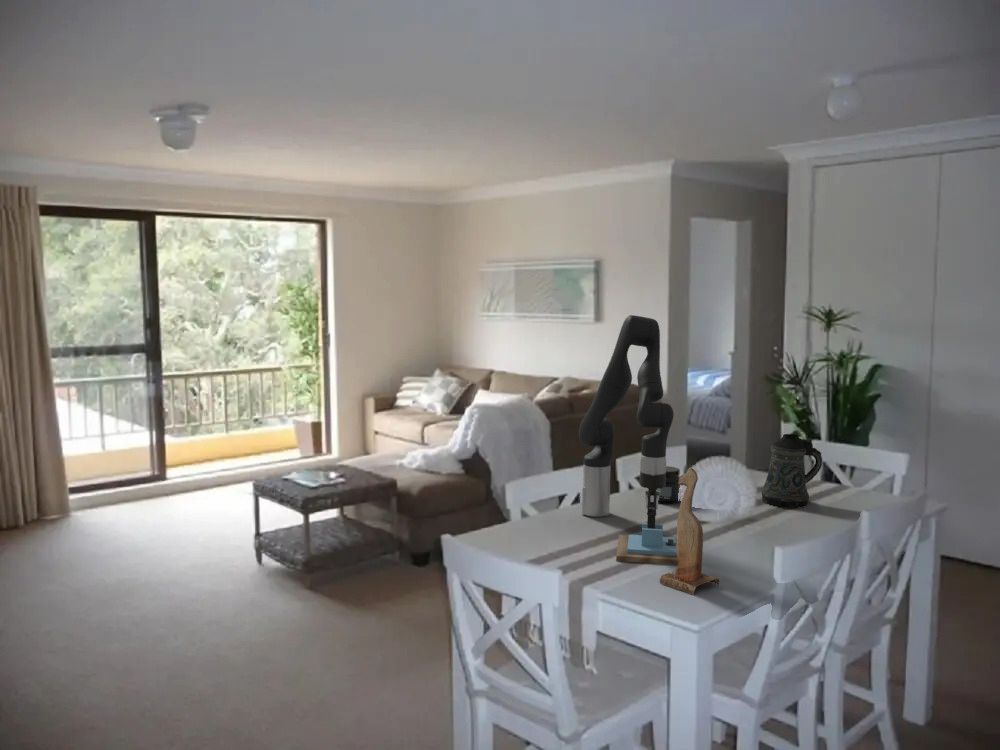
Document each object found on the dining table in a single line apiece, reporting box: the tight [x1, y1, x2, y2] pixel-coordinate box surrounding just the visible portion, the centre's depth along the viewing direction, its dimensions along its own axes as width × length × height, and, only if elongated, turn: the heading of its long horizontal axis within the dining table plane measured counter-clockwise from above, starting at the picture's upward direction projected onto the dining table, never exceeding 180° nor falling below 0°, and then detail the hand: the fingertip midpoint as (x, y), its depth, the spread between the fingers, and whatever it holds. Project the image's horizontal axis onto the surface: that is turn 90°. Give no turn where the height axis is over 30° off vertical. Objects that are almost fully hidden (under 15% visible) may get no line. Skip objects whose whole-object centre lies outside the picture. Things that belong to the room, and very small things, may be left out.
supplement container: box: [656, 465, 681, 505], centre depth 303 cm, size 10×10×12 cm
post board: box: [615, 527, 679, 566], centre depth 245 cm, size 20×20×8 cm
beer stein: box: [761, 433, 823, 509], centre depth 301 cm, size 16×19×25 cm
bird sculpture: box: [659, 467, 720, 595], centre depth 218 cm, size 11×12×32 cm
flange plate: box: [627, 522, 677, 556], centre depth 245 cm, size 14×14×6 cm
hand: (651, 524), depth 245 cm, fingers open, 8 cm apart
